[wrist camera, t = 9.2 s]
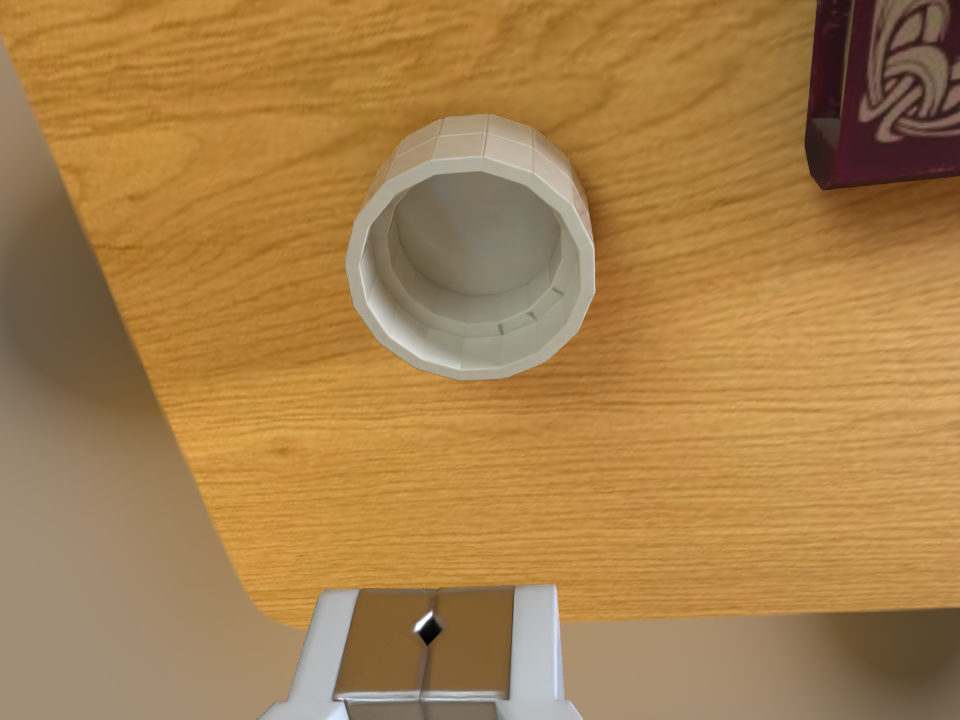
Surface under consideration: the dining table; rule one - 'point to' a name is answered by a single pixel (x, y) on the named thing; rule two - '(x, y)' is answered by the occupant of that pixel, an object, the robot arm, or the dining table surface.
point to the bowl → (473, 249)
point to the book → (884, 92)
